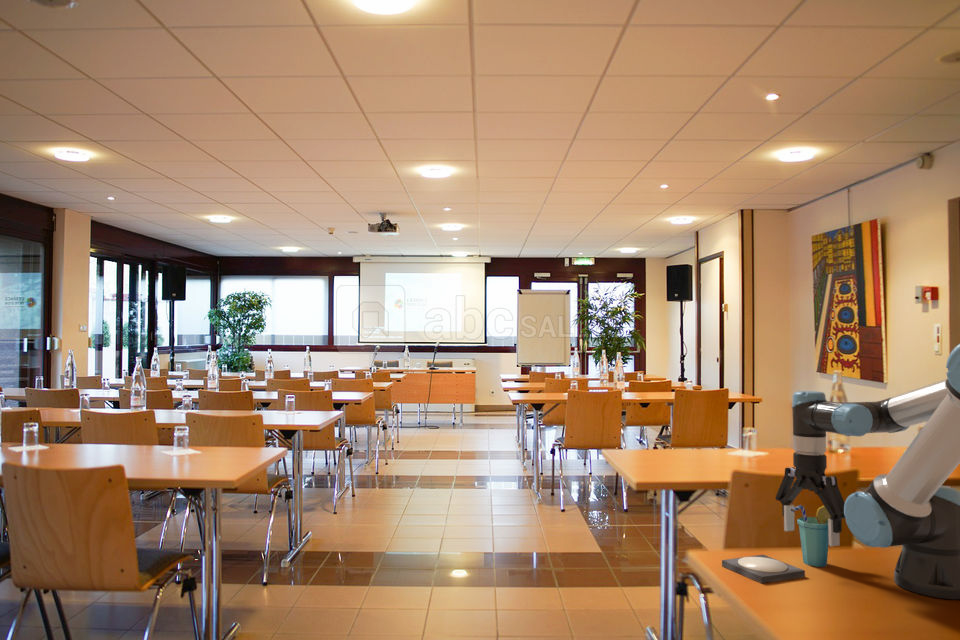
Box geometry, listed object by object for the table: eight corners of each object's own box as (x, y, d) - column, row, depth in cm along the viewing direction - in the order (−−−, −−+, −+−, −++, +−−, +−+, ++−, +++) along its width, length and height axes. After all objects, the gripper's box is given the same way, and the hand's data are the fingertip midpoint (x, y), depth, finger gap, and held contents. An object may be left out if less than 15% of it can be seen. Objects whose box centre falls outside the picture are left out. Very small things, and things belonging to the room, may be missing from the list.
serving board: (805, 576, 153) (804, 569, 153) (761, 583, 149) (761, 575, 149) (763, 560, 165) (763, 553, 165) (722, 566, 161) (721, 558, 161)
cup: (807, 572, 156) (805, 509, 157) (780, 563, 163) (778, 502, 164) (845, 564, 162) (843, 503, 163) (817, 556, 169) (815, 497, 170)
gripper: (865, 460, 154) (866, 550, 153) (782, 444, 177) (783, 523, 176) (841, 461, 151) (843, 554, 150) (760, 446, 174) (761, 526, 173)
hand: (810, 537), depth 163 cm, fingers open, 13 cm apart
